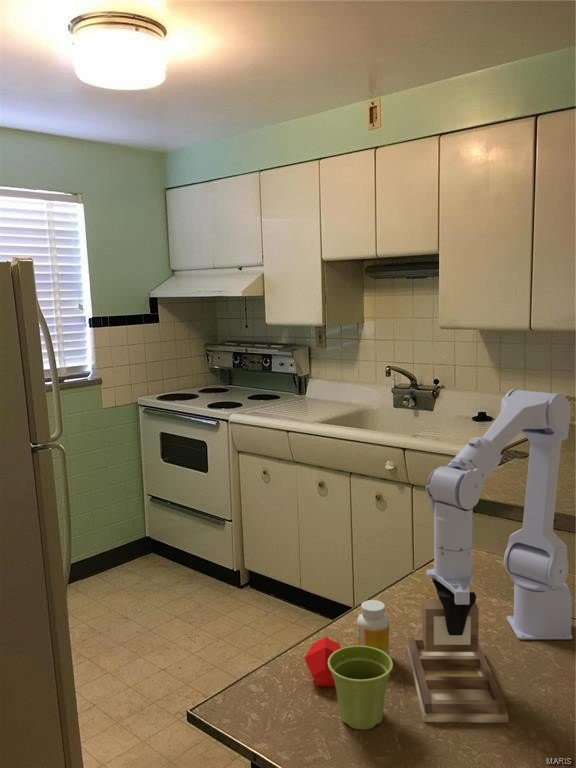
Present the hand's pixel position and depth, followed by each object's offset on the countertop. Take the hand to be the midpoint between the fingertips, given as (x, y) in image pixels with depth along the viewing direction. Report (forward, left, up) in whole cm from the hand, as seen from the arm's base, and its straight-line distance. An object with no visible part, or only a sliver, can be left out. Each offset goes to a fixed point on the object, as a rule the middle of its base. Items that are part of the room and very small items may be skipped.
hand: (452, 627), depth 104 cm
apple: (+20, -1, -10) cm, 22 cm away
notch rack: (0, 0, -9) cm, 9 cm away
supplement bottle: (+12, -7, -9) cm, 17 cm away
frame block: (0, 0, -3) cm, 3 cm away
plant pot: (+15, +9, -9) cm, 20 cm away
